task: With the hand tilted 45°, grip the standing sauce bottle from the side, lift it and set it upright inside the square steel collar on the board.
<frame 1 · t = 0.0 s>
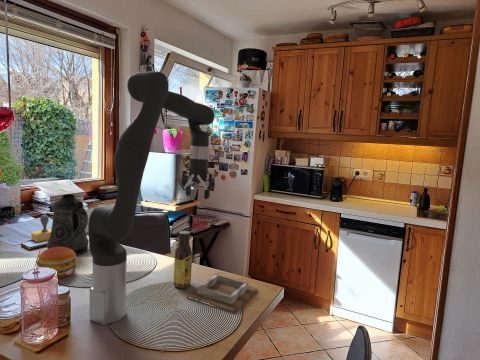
hand: (197, 197, 135), 29 cm above the table, tool pointing down, fingers open, 8 cm apart
rubber stamp: (44, 239, 161), on the table
burger: (56, 274, 124), on the table
carrier board: (223, 294, 116), on the table
beer stein: (71, 250, 149), on the table
sauce bottle: (182, 285, 121), on the table
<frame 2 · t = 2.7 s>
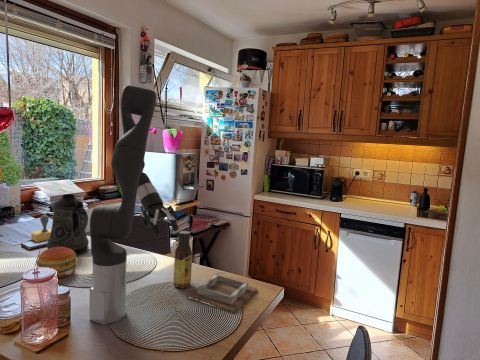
hand: (168, 232, 124), 18 cm above the table, tool tilted 45°, fingers open, 8 cm apart
nothing on the table moved.
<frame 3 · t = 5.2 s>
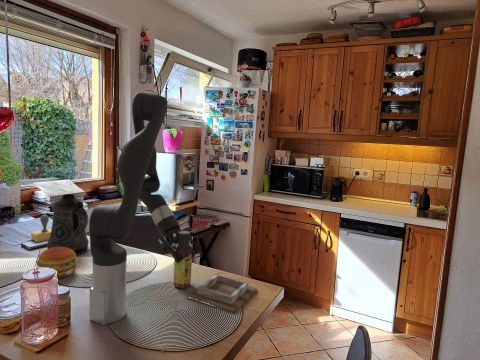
hand: (186, 259, 119), 10 cm above the table, tool tilted 45°, fingers closed on sauce bottle, 6 cm apart
sauce bottle: (182, 285, 121), on the table, touching gripper
everything else where it was.
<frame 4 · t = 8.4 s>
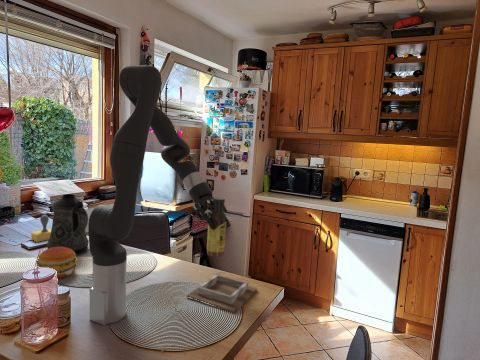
hand: (221, 226, 114), 24 cm above the table, tool tilted 45°, fingers closed on sauce bottle, 6 cm apart
sauce bottle: (215, 254, 116), point 14 cm above the table, touching gripper
everything else where it was.
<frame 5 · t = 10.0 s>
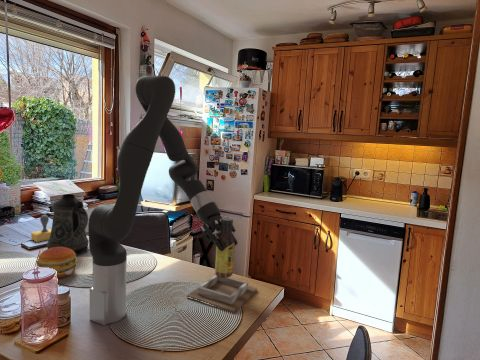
hand: (229, 247, 113), 17 cm above the table, tool tilted 45°, fingers closed on sauce bottle, 6 cm apart
sauce bottle: (223, 275, 115), point 7 cm above the table, touching gripper
everything else where it was.
when the fingers open (13 cm above the table, at t = 11.4 s): sauce bottle drops 1 cm, resting on carrier board.
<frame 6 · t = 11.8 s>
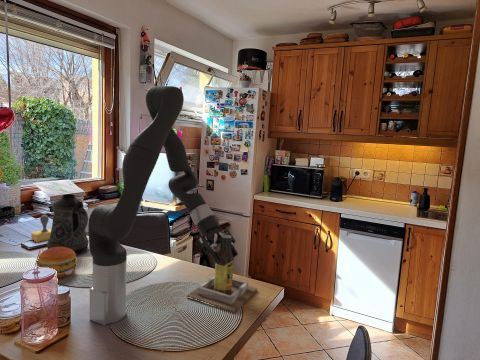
hand: (228, 259, 114), 13 cm above the table, tool tilted 45°, fingers open, 8 cm apart
sauce bottle: (222, 291, 116), point 1 cm above the table, touching carrier board
everything else where it was.
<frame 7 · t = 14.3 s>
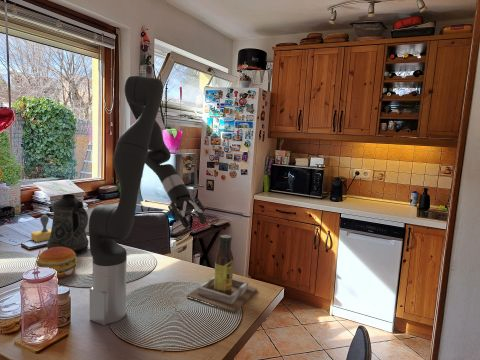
hand: (196, 225, 121), 22 cm above the table, tool tilted 45°, fingers open, 8 cm apart
nothing on the table moved.
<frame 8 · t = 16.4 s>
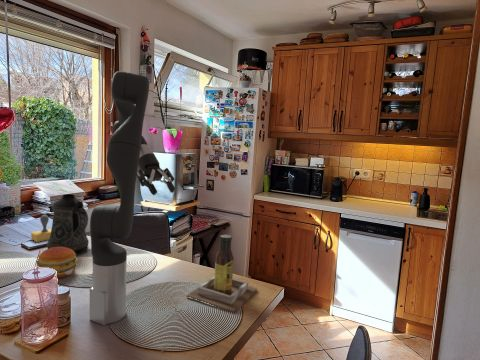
hand: (164, 192, 123), 33 cm above the table, tool tilted 45°, fingers open, 8 cm apart
nothing on the table moved.
at the end: sauce bottle inside the target area on the carrier board (0.2 cm from its centre), point 0.8 cm above the carrier board's base; sauce bottle tilted 0°; the gripper is holding nothing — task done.
